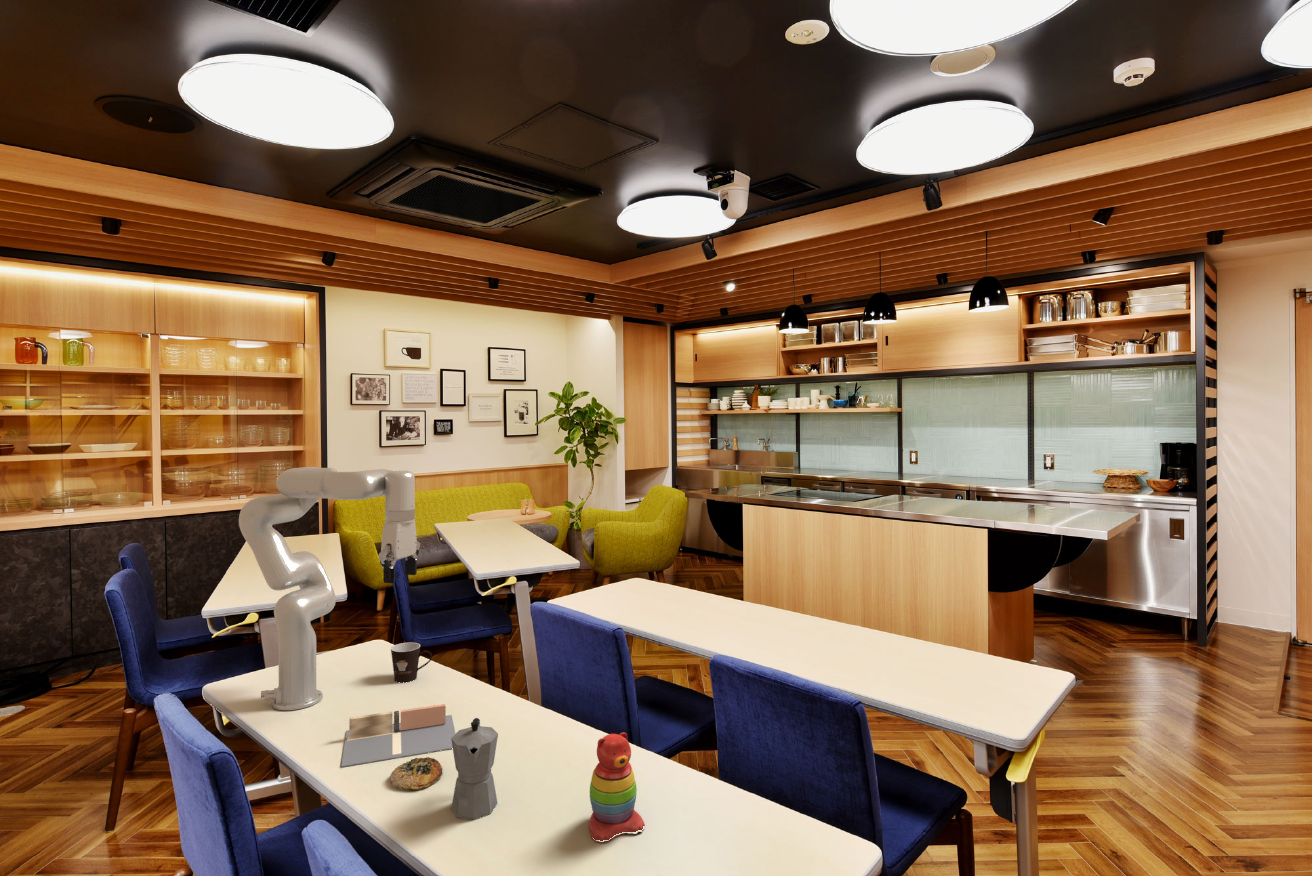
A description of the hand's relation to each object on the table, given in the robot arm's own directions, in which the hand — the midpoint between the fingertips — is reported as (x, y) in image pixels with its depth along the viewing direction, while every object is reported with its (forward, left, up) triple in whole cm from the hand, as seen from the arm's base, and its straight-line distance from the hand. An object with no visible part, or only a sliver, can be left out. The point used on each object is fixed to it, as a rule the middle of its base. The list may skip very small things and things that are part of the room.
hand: (400, 578), depth 180 cm
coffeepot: (+14, -51, -37) cm, 65 cm away
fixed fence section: (-7, -11, -37) cm, 40 cm away
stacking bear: (+39, -68, -37) cm, 87 cm away
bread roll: (+3, -36, -38) cm, 53 cm away
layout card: (0, -16, -37) cm, 40 cm away
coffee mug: (+3, +25, -37) cm, 45 cm away
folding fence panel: (+5, -11, -37) cm, 39 cm away
